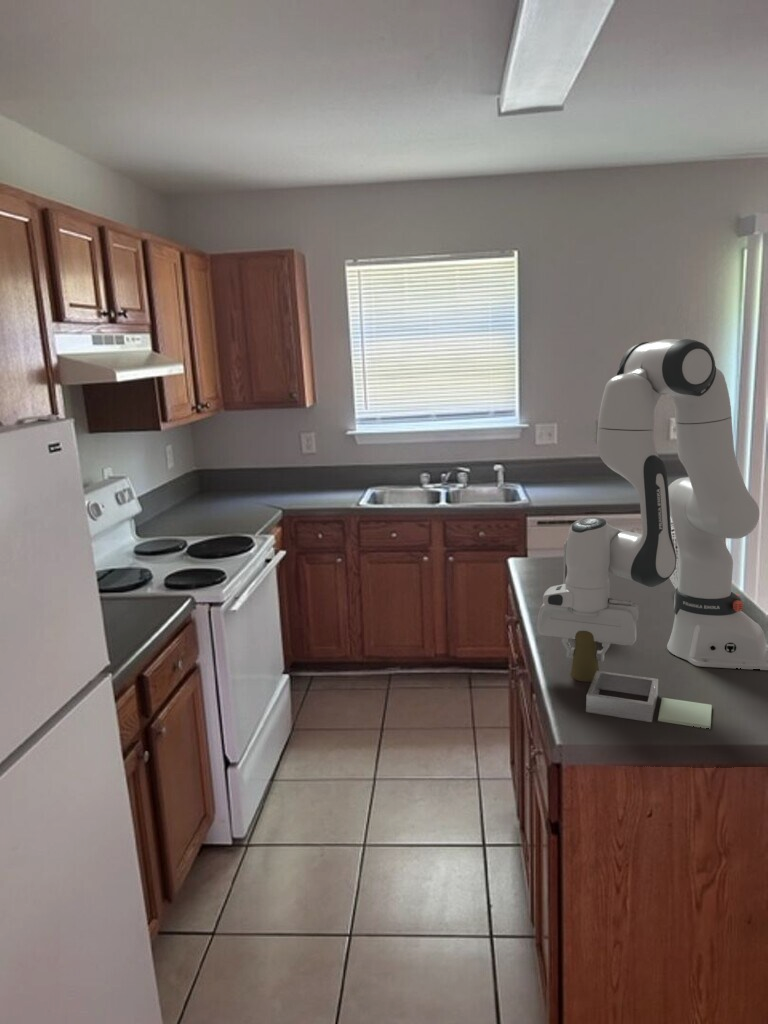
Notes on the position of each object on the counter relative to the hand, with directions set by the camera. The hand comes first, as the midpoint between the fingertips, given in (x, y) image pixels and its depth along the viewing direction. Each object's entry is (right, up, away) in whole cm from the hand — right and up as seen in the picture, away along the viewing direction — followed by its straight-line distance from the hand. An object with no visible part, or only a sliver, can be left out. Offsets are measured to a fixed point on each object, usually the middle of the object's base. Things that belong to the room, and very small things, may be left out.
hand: (585, 658), depth 162 cm
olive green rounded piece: (0, -4, +1) cm, 4 cm away
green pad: (+14, -7, -17) cm, 24 cm away
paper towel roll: (+6, +3, +33) cm, 33 cm away
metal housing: (+4, -7, -12) cm, 14 cm away
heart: (+40, +8, +49) cm, 63 cm away
